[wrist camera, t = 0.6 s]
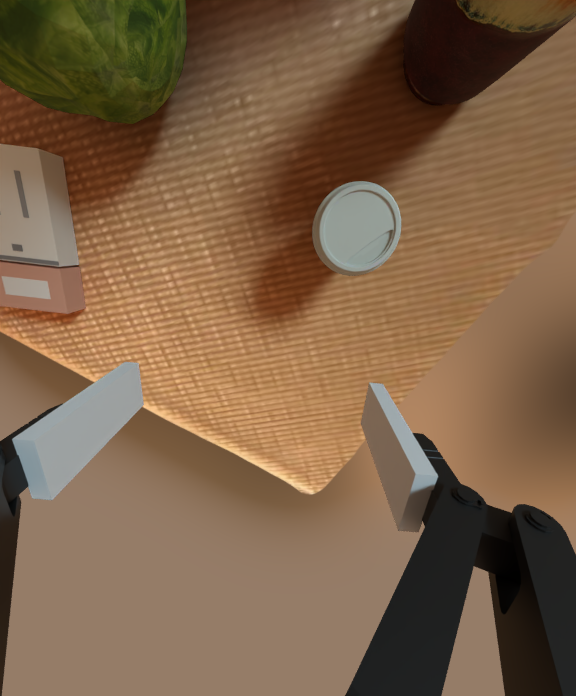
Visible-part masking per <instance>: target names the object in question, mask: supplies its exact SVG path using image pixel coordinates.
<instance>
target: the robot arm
mask: <svg viewBox="0 0 576 696" xmlns="http://www.w3.org/2000/svg"><path fill="white" fill-rule="evenodd" d="M143 405H144V403H143V395H142V387H141V379H140V371H139V363H132V362H124V363H123V364H121V365H120V366H118V367H117V368H115V369H114V370H112V371H111V372H110V373H108V374H107V375H105V376H104V377H102V378H101V379H99V380H98V381H96V382H95V383H93V384H92V385H90V386H89V387H88V388H86V389H85V390H84V391H82V392H81V393H79V394H77V395H76V396H75V397H73V398H71V399H70V400H69V401H67V402H66V403H64V404H60V405H58V406H55V407H53V408H51V409H48V410H47V411H45V412H44V413H42V414H41V415H39V416H38V417H37V418H35V419H33V420H32V421H30V422H29V423H28V424H26V425H24V426H23V427H21V428H20V429H18V430H17V431H15V432H14V433H12V434H11V435H9V436H7V437H6V438H4V439H3V440H2V441H0V696H2V686H3V676H4V666H5V656H6V647H7V636H8V627H9V616H10V607H11V598H12V587H13V578H14V567H15V557H16V548H17V538H18V528H19V518H20V509H21V500H20V497H19V494H20V493H21V492H22V491H24V490H25V489H26V488H27V487H28V488H29V491H30V494H31V497H32V498H33V499H45V500H53V499H54V498H55V497H56V496H57V495H58V494H59V492H60V491H61V490H62V489H63V488H64V487H65V486H66V485H67V484H68V483H69V482H70V481H71V480H72V479H73V478H74V477H75V476H76V475H77V474H78V473H79V472H80V471H81V469H82V468H83V467H84V466H85V465H86V464H87V463H88V462H89V461H90V460H91V459H92V458H93V457H94V456H95V455H96V454H97V453H98V452H99V451H100V450H101V449H102V448H103V447H104V446H105V444H106V443H107V442H108V441H109V440H110V439H111V438H112V437H113V436H114V435H115V434H116V433H117V432H118V431H119V430H120V429H121V428H122V427H123V425H125V424H126V423H127V422H128V421H129V419H130V418H131V417H132V416H133V415H134V414H135V413H136V412H137V411H138V410H139V409H140V408H141V407H142V406H143ZM361 425H362V428H363V431H364V434H365V437H366V440H367V443H368V445H369V448H370V451H371V454H372V457H373V460H374V463H375V465H376V468H377V471H378V474H379V477H380V480H381V483H382V486H383V489H384V491H385V494H386V497H387V500H388V503H389V506H390V508H391V511H392V514H393V517H394V520H395V523H396V526H397V529H398V531H409V532H419V529H420V527H421V524H422V521H423V523H424V525H425V529H424V531H423V533H422V535H421V537H420V539H419V541H418V543H417V545H416V548H415V550H414V552H413V554H412V556H411V558H410V560H409V562H408V564H407V567H406V569H405V571H404V573H403V575H402V577H401V579H400V581H399V584H398V586H397V588H396V590H395V592H394V594H393V596H392V598H391V601H390V603H389V605H388V607H387V609H386V611H385V613H384V615H383V617H382V620H381V622H380V624H379V626H378V628H377V630H376V632H375V634H374V636H373V639H372V641H371V643H370V645H369V647H368V649H367V651H366V653H365V656H364V658H363V660H362V662H361V664H360V666H359V668H358V670H357V673H356V675H355V677H354V679H353V681H352V683H351V685H350V687H349V689H348V691H347V693H346V695H345V696H441V694H442V690H443V686H444V682H445V678H446V674H447V670H448V666H449V662H450V658H451V654H452V650H453V646H454V642H455V638H456V634H457V630H458V626H459V622H460V618H461V614H462V610H463V606H464V602H465V598H466V594H467V590H468V586H469V582H470V578H471V574H472V570H473V566H475V567H478V568H480V569H483V570H485V571H488V573H489V579H490V587H491V594H492V601H493V609H494V617H495V624H496V630H497V639H498V645H499V654H500V661H501V668H502V675H503V683H504V690H505V696H576V554H575V552H574V550H573V548H572V545H571V543H570V541H569V538H568V536H567V534H566V532H565V530H564V529H563V528H562V526H561V525H560V524H559V523H558V522H557V521H556V520H555V519H554V518H553V517H551V516H550V515H548V514H547V513H545V512H544V511H542V510H539V509H537V508H535V507H533V506H529V505H525V504H519V505H517V506H516V507H514V509H513V511H512V513H510V512H507V511H504V510H501V509H498V508H495V507H492V506H489V505H487V504H486V502H485V501H484V499H483V498H482V497H481V496H480V495H479V494H478V493H477V492H475V491H474V490H472V489H471V488H469V487H467V486H465V485H462V484H461V483H460V482H459V481H458V479H457V478H456V476H455V475H454V473H453V472H452V470H451V469H450V467H449V466H448V465H447V463H446V461H445V460H444V459H443V457H442V456H441V454H440V452H438V450H437V448H436V447H435V445H434V444H433V442H432V441H431V440H429V439H428V438H427V437H426V436H425V435H423V434H418V433H412V432H411V430H410V429H409V427H408V425H407V423H406V422H405V420H404V419H403V417H402V415H401V414H400V412H399V410H398V409H397V407H396V405H395V404H394V402H393V400H392V399H391V397H390V395H389V394H388V392H387V390H386V389H385V387H384V385H383V384H378V383H369V386H368V391H367V396H366V400H365V405H364V410H363V415H362V420H361Z"/></svg>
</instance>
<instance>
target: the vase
mask: <svg viewBox="0 0 576 696" xmlns="http://www.w3.org/2000/svg"><path fill="white" fill-rule="evenodd" d="M575 16H576V0H415V2H414V4H413V6H412V9H411V12H410V14H409V17H408V20H407V24H406V28H405V35H404V64H403V65H404V74H405V78H406V81H407V84H408V86H409V88H410V89H411V91H412V93H413V94H414V95H415V96H416V97H417V98H418V99H420V100H421V101H423V102H425V103H427V104H431V105H445V104H457V103H461V102H464V101H467V100H469V99H471V98H473V97H475V96H476V95H478V94H479V93H480V92H482V91H483V90H485V89H486V88H487V87H489V86H490V85H491V84H493V83H494V82H495V81H496V80H498V79H499V78H500V77H502V76H503V75H504V74H505V73H506V72H508V71H509V70H510V69H511V68H513V67H514V66H515V65H516V64H518V63H519V62H520V61H521V60H522V59H524V58H525V57H526V56H527V55H529V54H530V53H531V52H532V51H534V50H535V49H536V48H537V47H538V46H540V45H541V44H542V43H543V42H545V41H546V40H547V39H548V38H550V37H551V36H552V35H553V34H555V33H556V32H557V31H558V30H559V29H561V28H562V27H563V26H564V25H566V24H567V23H568V22H569V21H570V20H572V19H573V18H574V17H575Z"/></svg>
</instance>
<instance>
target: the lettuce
mask: <svg viewBox="0 0 576 696" xmlns="http://www.w3.org/2000/svg"><path fill="white" fill-rule="evenodd" d="M186 42H187V21H186V0H0V80H1V81H3V82H4V83H5V84H6V85H8V86H10V87H11V88H13V89H15V90H17V91H18V92H20V93H22V94H24V95H26V96H27V97H29V98H31V99H33V100H34V101H36V102H38V103H40V104H42V105H43V106H45V107H47V108H51V109H55V110H59V111H63V112H67V113H76V114H85V115H92V116H95V117H98V118H101V119H103V120H106V121H109V122H119V123H129V124H134V123H136V122H138V121H140V120H142V119H144V118H147V117H149V116H151V115H153V114H154V113H155V112H156V111H157V110H158V109H159V108H160V107H161V106H162V105H163V104H164V102H165V101H166V100H167V99H168V97H169V96H170V95H171V94H172V93H173V91H174V89H175V87H176V84H177V82H178V79H179V77H180V74H181V71H182V69H183V62H184V56H185V49H186Z"/></svg>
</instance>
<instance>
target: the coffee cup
mask: <svg viewBox="0 0 576 696" xmlns="http://www.w3.org/2000/svg"><path fill="white" fill-rule="evenodd" d="M400 232H401V216H400V212H399V208H398V206H397V204H396V202H395V200H394V198H393V197H392V196H391V195H390V193H389V192H388V191H386V190H385V189H384V188H382V187H381V186H379V185H377V184H374V183H371V182H366V181H356V182H350V183H346V184H344V185H341V186H339V187H338V188H336V189H335V190H333V191H332V192H331V193H330V194H328V195H327V196H326V198H325V199H324V200H323V201H322V203H321V204H320V206H319V208H318V210H317V212H316V214H315V217H314V221H313V227H312V238H313V244H314V248H315V250H316V253H317V255H318V256H319V258H320V259H321V261H322V262H323V263H324V264H325V265H326V266H327V267H328V268H330V269H331V270H333V271H335V272H337V273H339V274H343V275H348V276H356V275H362V274H366V273H368V272H371V271H373V270H375V269H376V268H378V267H379V266H381V265H382V264H383V263H384V262H385V261H386V260H387V259H388V258H389V257H390V256H391V254H392V253H393V251H394V249H395V247H396V245H397V243H398V240H399V237H400Z"/></svg>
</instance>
